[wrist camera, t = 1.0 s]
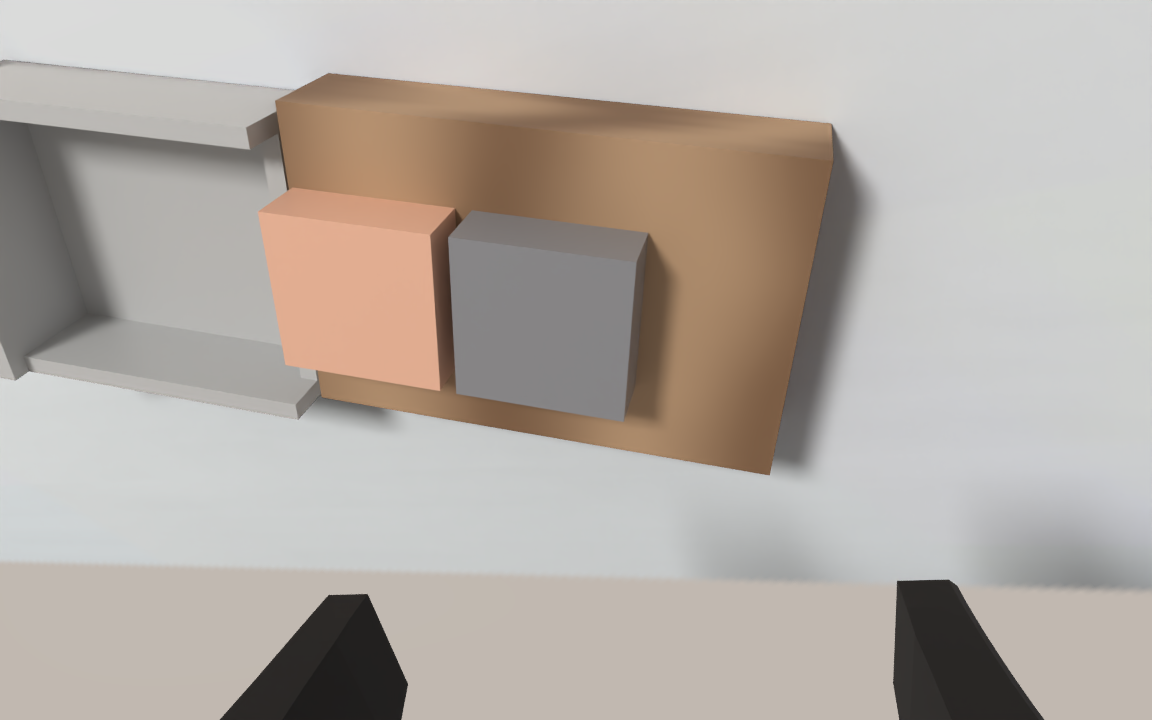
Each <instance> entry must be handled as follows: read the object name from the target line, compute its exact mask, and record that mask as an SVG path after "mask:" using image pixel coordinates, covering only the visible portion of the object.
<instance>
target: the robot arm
mask: <svg viewBox="0 0 1152 720" xmlns="http://www.w3.org/2000/svg"><path fill="white" fill-rule="evenodd" d="M893 680H894V681H893V684H894V690H895V696H896V702H897V708H898V714H899V720H1044V719H1043V717H1042V716H1041V715H1040V713H1039V712H1038V711H1037V709H1036V708H1035V706H1034V705H1033V704H1032V702H1031V701H1030V700H1029V698H1028V697H1027V696H1026V694H1025V693H1024V691H1023V690H1022V688H1021V687H1020V685H1019V684H1018V683H1017V681H1016V680H1015V678H1014V677H1013V675H1012V674H1011V672H1010V671H1009V670H1008V668H1007V666H1006V665H1005V663H1004V662H1003V660H1002V659H1001V657H1000V656H999V654H998V653H997V651H996V650H995V648H994V647H993V645H992V643H991V642H990V640H989V639H988V637H987V636H986V634H985V633H984V631H983V629H982V628H981V626H980V624H979V623H978V621H977V620H976V618H975V616H974V614H973V613H972V611H971V609H970V608H969V606H968V604H967V603H966V601H965V599H964V597H963V595H962V594H961V592H960V590H959V588H958V586H957V585H955V584H954V583H953V582H951V581H950V580H917V581H897V601H896V628H895V653H894V679H893ZM407 686H408V683H407V681H406V679H405V677H404V674H403V672H402V670H401V668H400V665H399V663H398V661H397V659H396V656H395V654H394V652H393V650H392V648H391V645H390V643H389V641H388V639H387V636H386V634H385V632H384V630H383V628H382V625H381V623H380V621H379V618H378V616H377V614H376V612H375V610H374V607H373V605H372V603H371V601H370V598H369V596H368V595H367V594H358V595H357V594H356V595H328V597H327V598H326V599H325V600H324V601H323V602H322V603H321V604H320V606H319V607H318V608H317V609H316V610H315V611H314V612H313V614H312V615H311V616H310V617H309V618H308V620H307V621H306V622H305V623H304V624H303V625H302V626H301V627H300V629H299V630H298V631H297V632H296V633H295V634H294V635H293V637H292V638H291V639H290V640H289V641H288V643H287V644H286V645H285V646H284V647H283V649H282V650H281V651H280V652H279V653H278V654H277V655H276V656H275V658H274V659H273V660H272V661H271V662H270V663H269V665H268V666H267V667H266V668H265V669H264V670H263V671H262V673H261V674H260V675H259V676H258V677H257V678H256V680H255V681H254V682H253V683H252V684H251V685H250V686H249V687H248V689H247V690H246V691H245V692H244V693H243V694H242V696H240V698H239V699H238V700H237V701H236V702H235V703H234V704H233V706H232V707H231V708H230V709H229V710H228V711H227V712H226V713H225V714H224V716H223V717H222V718H221V719H220V720H401V718H402V713H403V707H404V702H405V697H406V692H407Z"/></svg>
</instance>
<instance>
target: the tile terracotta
mask: <svg viewBox="0 0 1152 720" xmlns="http://www.w3.org/2000/svg"><path fill="white" fill-rule="evenodd" d="M258 216H259V222H260V227H261V233H262V238H263V244H264V249H265V255H266V260H267V266H268V271H269V277H270V282H271V288H272V293H273V299H274V304H275V310H276V316H277V321H278V327H279V332H280V338H281V343H282V349H283V354H284V360H285V365H288V366H294V367H300V368H306V369H312V370H318V371H324V372H330V373H336V374H341V375H347V376H353V377H359V378H365V379H371V380H377V381H383V382H389V383H395V384H401V385H407V386H413V387H419V388H425V389H431V390H437V391H441V389H442V388H443V386H444V385H445V383H446V382H447V380H448V379H449V377H450V376H451V374H452V373H453V371H454V370H455V358H454V339H453V320H452V302H451V283H450V264H449V245H448V237H449V236H450V234H451V233H452V232H453V231H454V230H455V229H456V219H455V208H450V207H442V206H434V205H426V204H418V203H410V202H403V201H395V200H387V199H379V198H371V197H363V196H355V195H347V194H340V193H332V192H324V191H316V190H308V189H300V188H291V189H290V190H288V191H287V192H285V193H284V194H282V195H281V196H280V197H278V198H277V199H275V200H274V201H272V202H271V203H269V204H268V205H267V206H265V207H264V208H262V209H261V210H259V211H258Z"/></svg>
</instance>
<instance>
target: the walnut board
mask: <svg viewBox="0 0 1152 720" xmlns="http://www.w3.org/2000/svg"><path fill="white" fill-rule="evenodd" d="M275 104H276V111H277V117H278V123H279V130H280V136H281V142H282V149H283V155H284V161H285V168H286V174H287V180H288V187H289V190H290V189H291V188H300V189H308V190H316V191H324V192H332V193H340V194H347V195H355V196H363V197H371V198H379V199H387V200H395V201H403V202H410V203H418V204H426V205H434V206H442V207H450V208H455V219H456V228H457V227H458V225H459V224H460V223H461V222H462V221H463V220H464V219H465V218H466V216H467V215H468V214H469V213H470V212H471V211H472V210H473V211H481V212H489V213H497V214H505V215H513V216H521V217H528V218H536V219H544V220H552V221H560V222H568V223H576V224H583V225H591V226H599V227H607V228H615V229H623V230H631V231H639V232H646V233H648V244H647V256H646V267H645V279H644V291H643V302H642V314H641V326H640V337H639V349H638V361H637V372H636V384H635V389H634V392H633V395H632V398H631V401H630V404H629V407H628V410H627V414H626V417H625V420H624V422H621V421H615V420H609V419H603V418H597V417H591V416H585V415H579V414H573V413H567V412H562V411H556V410H550V409H544V408H538V407H532V406H526V405H520V404H514V403H508V402H502V401H496V400H490V399H484V398H478V397H472V396H466V395H460V394H456V377H455V370H454V371H453V373H452V374H451V376H450V377H449V379H448V380H447V382H446V383H445V385H444V386H443V388H442V389H441V391H437V390H431V389H425V388H419V387H413V386H407V385H401V384H395V383H389V382H383V381H377V380H371V379H365V378H359V377H353V376H347V375H341V374H336V373H330V372H324V371H318V370H317V371H318V377H319V383H320V390H321V396H322V397H323V398H329V399H334V400H340V401H346V402H351V403H357V404H363V405H369V406H374V407H380V408H386V409H392V410H397V411H403V412H409V413H415V414H420V415H426V416H432V417H438V418H443V419H449V420H455V421H461V422H466V423H472V424H478V425H484V426H489V427H495V428H501V429H507V430H512V431H518V432H524V433H530V434H535V435H541V436H547V437H553V438H558V439H564V440H570V441H576V442H581V443H587V444H593V445H599V446H604V447H610V448H616V449H621V450H627V451H633V452H639V453H644V454H650V455H656V456H662V457H667V458H673V459H679V460H685V461H690V462H696V463H702V464H708V465H713V466H719V467H725V468H731V469H736V470H742V471H748V472H754V473H759V474H765V475H770V471H771V466H772V461H773V456H774V451H775V446H776V441H777V436H778V432H779V427H780V422H781V417H782V412H783V407H784V402H785V397H786V392H787V387H788V382H789V377H790V372H791V367H792V363H793V358H794V353H795V348H796V343H797V338H798V333H799V328H800V323H801V318H802V313H803V308H804V303H805V298H806V294H807V289H808V284H809V279H810V274H811V269H812V264H813V259H814V254H815V249H816V244H817V239H818V234H819V229H820V225H821V220H822V215H823V210H824V205H825V200H826V195H827V190H828V185H829V180H830V175H831V170H832V165H833V144H832V125H831V124H830V123H820V122H810V121H800V120H790V119H780V118H770V117H760V116H750V115H740V114H730V113H720V112H710V111H700V110H690V109H680V108H670V107H660V106H650V105H640V104H630V103H620V102H610V101H600V100H590V99H580V98H570V97H560V96H550V95H540V94H530V93H520V92H510V91H500V90H490V89H480V88H470V87H460V86H450V85H440V84H430V83H420V82H410V81H400V80H390V79H380V78H370V77H360V76H350V75H340V74H330V73H328V74H326V75H324V76H322V77H320V78H318V79H316V80H314V81H312V82H311V83H309V84H307V85H305V86H303V87H301V88H299V89H297V90H295V91H293V92H291V93H289V94H287V95H285V96H283V97H281V98H279V99H277V100H275Z"/></svg>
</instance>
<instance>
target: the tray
mask: <svg viewBox="0 0 1152 720" xmlns="http://www.w3.org/2000/svg"><path fill="white" fill-rule="evenodd" d="M293 91H295V90H288V89H279V88H269V87H259V86H250V85H240V84H231V83H221V82H212V81H202V80H193V79H183V78H173V77H164V76H154V75H145V74H135V73H126V72H116V71H107V70H97V69H88V68H78V67H68V66H59V65H49V64H40V63H30V62H21V61H11V60H2V61H0V378H4V379H10V380H15V381H16V380H17V379H18V378H20V377H21V376H23V375H24V374H26V373H27V372H29V371H31V372H36V373H42V374H47V375H53V376H58V377H64V378H69V379H75V380H81V381H86V382H92V383H97V384H103V385H108V386H114V387H119V388H125V389H131V390H136V391H142V392H147V393H153V394H158V395H164V396H169V397H175V398H181V399H186V400H192V401H197V402H203V403H208V404H214V405H219V406H225V407H230V408H236V409H242V410H247V411H253V412H258V413H264V414H269V415H275V416H280V417H286V418H292V419H297V420H298V419H299V418H300V417H301V416H302V415H303V414H304V413H305V411H306V410H307V409H308V408H309V407H310V406H311V404H312V403H313V402H314V401H315V400H316V399H317V398H318V396H319V395H320V394H321V390H320V383H319V377H318V371H317V370H312V369H306V368H300V367H294V366H288V365H285V360H284V354H283V349H282V343H281V338H280V332H279V327H278V321H277V316H276V310H275V304H274V299H273V293H272V288H271V282H270V277H269V271H268V266H267V260H266V255H265V249H264V244H263V238H262V233H261V227H260V222H259V216H258V211H259V210H261V209H262V208H264V207H265V206H267V205H268V204H269V203H271V202H272V201H274V200H275V199H277V198H278V197H280V196H281V195H282V194H284V193H285V192H287V191H288V190H289V187H288V180H287V174H286V168H285V161H284V155H283V149H282V142H281V136H280V130H279V123H278V117H277V111H276V104H275V100H277V99H279V98H281V97H283V96H285V95H287V94H289V93H291V92H293Z"/></svg>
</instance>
